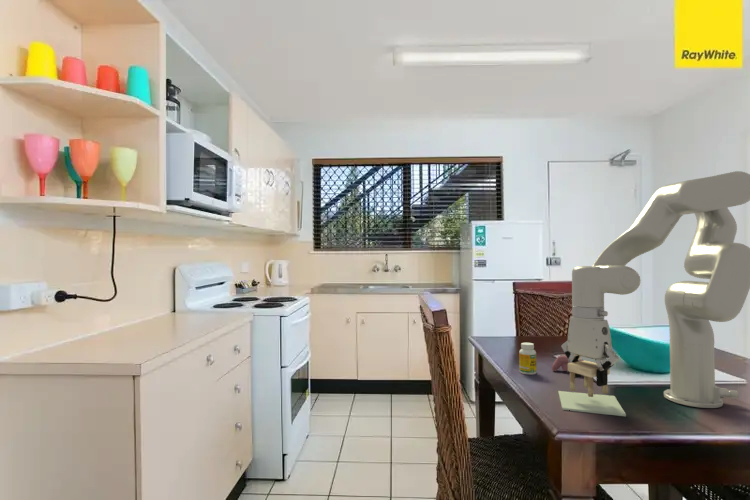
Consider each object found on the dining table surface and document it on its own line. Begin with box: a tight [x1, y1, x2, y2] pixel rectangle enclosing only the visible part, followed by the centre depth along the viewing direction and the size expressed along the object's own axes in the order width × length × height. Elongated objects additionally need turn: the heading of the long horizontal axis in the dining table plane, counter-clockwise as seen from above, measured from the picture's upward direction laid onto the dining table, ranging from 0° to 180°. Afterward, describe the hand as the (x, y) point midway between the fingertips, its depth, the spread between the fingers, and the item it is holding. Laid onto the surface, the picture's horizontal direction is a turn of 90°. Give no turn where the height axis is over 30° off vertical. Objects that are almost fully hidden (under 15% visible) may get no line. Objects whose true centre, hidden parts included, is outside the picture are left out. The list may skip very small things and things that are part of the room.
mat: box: [557, 390, 627, 417], centre depth 111 cm, size 14×14×1 cm
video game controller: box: [551, 354, 585, 373], centre depth 140 cm, size 10×5×7 cm, turn 35°
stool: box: [567, 360, 611, 397], centre depth 111 cm, size 7×7×7 cm
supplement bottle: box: [518, 342, 538, 376], centre depth 140 cm, size 5×5×10 cm
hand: (588, 380), depth 111 cm, fingers closed on stool, 7 cm apart
